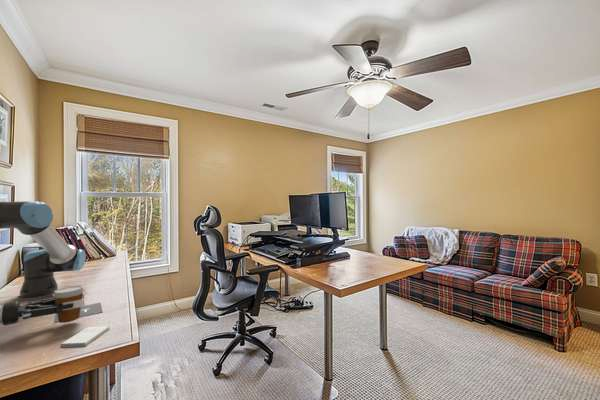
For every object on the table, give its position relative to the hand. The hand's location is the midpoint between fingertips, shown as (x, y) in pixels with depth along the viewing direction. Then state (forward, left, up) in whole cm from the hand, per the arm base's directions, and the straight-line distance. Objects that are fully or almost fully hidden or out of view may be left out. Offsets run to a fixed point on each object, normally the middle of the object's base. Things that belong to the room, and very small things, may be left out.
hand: (84, 299), depth 111 cm
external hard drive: (+18, 0, -9) cm, 20 cm away
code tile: (-14, -2, -9) cm, 16 cm away
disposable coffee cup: (0, -5, -7) cm, 8 cm away
